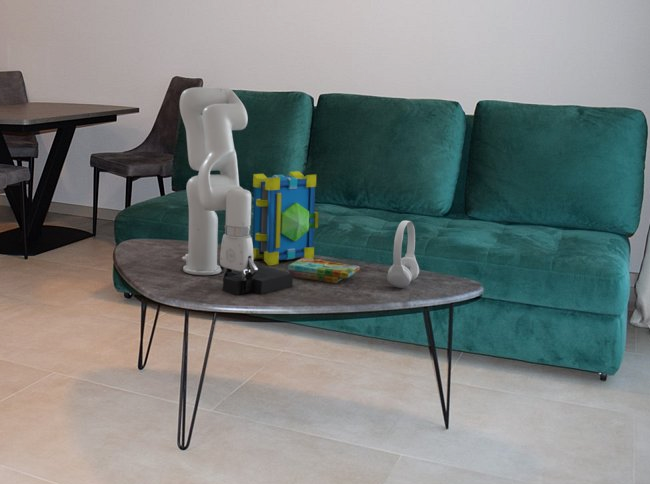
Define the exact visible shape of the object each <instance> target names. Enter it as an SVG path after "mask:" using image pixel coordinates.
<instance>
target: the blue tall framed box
mask: <svg viewBox="0 0 650 484" xmlns="http://www.w3.org/2000/svg"><path fill="white" fill-rule="evenodd" d="M252 175H253V177H252V188H253V208H252V209H253V211H252V212H253V213H252V224H253V225H252V243H253V261H255V260H262V259H263V262H265V263H266V264H267V267H269V266H276V265H279V263H280V262H279V261H282V260H285V261H288V260H289V261H290V260H294V259H296V258H308V259H314V258H315V246H314V242H315V241H314V240H315V239H314V238H315V237H314V236H315V235H314V234H315V232H314V231H315V228H316V229H319V213H320V212H319V211H315V205H316V204H315V203H316V187H317V174H306V175H305V176H304V174H303V173H302V172H300V170H298V171H297V170H295V171H289V175H284V174H274V175H272V176H266V175H265V174H264V173H253V174H252Z"/></svg>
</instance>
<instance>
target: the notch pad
mask: <svg viewBox="0 0 650 484" xmlns="http://www.w3.org/2000/svg"><path fill="white" fill-rule="evenodd" d="M256 267H257V268H258V271H257V272H256V273H258V274H262V275H265V276H263V277H259V278H254V279H253V291H252V292H253V293H255V294H259V295H263V294H268V293H271V292H276V291H279V290H280V291H281V290H283V289H288V288H292V287H293V285H294V277H293V274H292V273H290V272H289V271H284V270H280V269H278V268H277V269H276V268H273V267H269V266H264V265H262V264H258V265H256ZM250 271H251V270H250ZM245 273H247V272H245ZM231 274H233V275H238V274H241V272H239V271H235V270H232V272H231Z"/></svg>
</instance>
